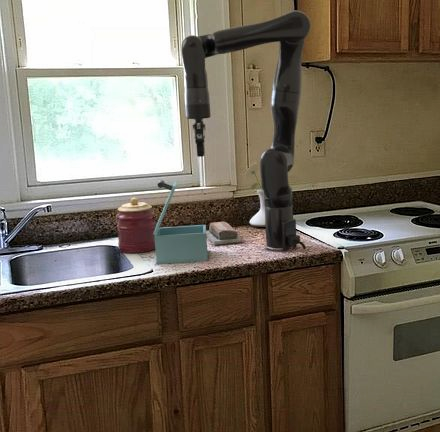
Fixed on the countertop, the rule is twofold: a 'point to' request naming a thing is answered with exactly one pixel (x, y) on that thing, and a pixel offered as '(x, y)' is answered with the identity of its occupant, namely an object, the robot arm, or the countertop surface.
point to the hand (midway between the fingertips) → (200, 155)
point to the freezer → (181, 244)
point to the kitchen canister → (136, 227)
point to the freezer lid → (172, 188)
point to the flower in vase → (260, 216)
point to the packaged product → (222, 234)
